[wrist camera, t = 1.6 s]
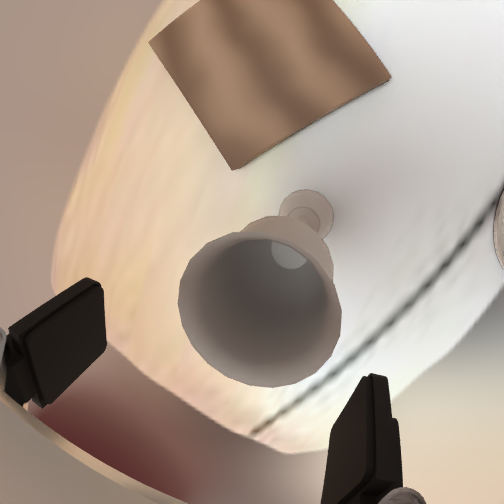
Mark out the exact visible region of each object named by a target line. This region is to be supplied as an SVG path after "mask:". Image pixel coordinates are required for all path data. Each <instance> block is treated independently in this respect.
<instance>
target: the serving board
mask: <svg viewBox="0 0 504 504" xmlns="http://www.w3.org/2000/svg"><path fill="white" fill-rule="evenodd" d="M148 43H149V44H150V46H151V47H152V49H153V50H154V52H155V53H156V55H157V56H158V58H159V59H160V61H161V62H162V64H163V65H164V67H165V68H166V70H167V71H168V73H169V74H170V76H171V77H172V79H173V80H174V82H175V83H176V85H177V86H178V88H179V89H180V91H181V92H182V94H183V95H184V97H185V98H186V100H187V101H188V103H189V104H190V106H191V108H192V109H193V111H194V112H195V114H196V115H197V117H198V118H199V120H200V121H201V123H202V124H203V126H204V128H205V129H206V131H207V132H208V134H209V135H210V137H211V138H212V140H213V142H214V143H215V145H216V146H217V148H218V149H219V151H220V152H221V154H222V156H223V157H224V159H225V160H226V162H227V163H228V165H229V167H230V168H231V170H236V169H239V168H241V167H242V166H244V165H245V164H247V163H248V162H250V161H252V160H253V159H255V158H256V157H258V156H259V155H261V154H262V153H264V152H266V151H267V150H269V149H270V148H272V147H274V146H275V145H277V144H278V143H280V142H282V141H283V140H285V139H287V138H288V137H290V136H291V135H293V134H295V133H296V132H298V131H300V130H301V129H303V128H305V127H306V126H308V125H310V124H312V123H313V122H315V121H317V120H318V119H320V118H322V117H324V116H325V115H327V114H329V113H330V112H332V111H334V110H336V109H338V108H339V107H341V106H343V105H345V104H346V103H348V102H350V101H352V100H354V99H356V98H357V97H359V96H361V95H363V94H365V93H367V92H368V91H370V90H372V89H374V88H376V87H378V86H380V85H382V84H384V83H386V82H388V81H389V79H390V78H391V75H390V74H389V72H388V71H387V69H386V68H385V66H384V65H383V63H382V62H381V60H380V59H379V58H378V56H377V55H376V53H375V52H374V51H373V49H372V48H371V47H370V45H369V44H368V43H367V41H366V40H365V39H364V37H363V36H362V35H361V34H360V32H359V31H358V30H357V28H356V27H355V26H354V25H353V24H352V22H351V21H350V20H349V19H348V17H347V16H346V15H345V14H344V13H343V12H342V10H341V9H340V8H339V7H338V6H337V5H336V3H335V2H334V1H333V0H200V1H199V2H197V3H196V4H195V5H193V6H192V7H191V8H189V9H188V10H187V11H185V12H184V13H183V14H182V15H180V16H179V17H178V18H176V19H175V20H174V21H173V22H172V23H170V24H169V25H168V26H167V27H165V28H164V29H163V30H162V31H161V32H159V33H158V34H157V35H156V36H155V37H154V38H153V39H151V40H150V41H149V42H148Z"/></svg>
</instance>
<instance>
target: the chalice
mask: <svg viewBox="0 0 504 504" xmlns="http://www.w3.org/2000/svg"><path fill="white" fill-rule="evenodd" d="M332 224H333V211H332V208H331V206H330V204H329V202H328V201H327V200H326V198H325V197H323V196H322V195H321V194H319V193H318V192H315V191H311V190H299V191H296V192H293V193H291V194H290V195H289V196H288V197H286V198H285V200H284V201H283V203H282V204H281V207H280V211H279V216H268V217H264V218H261V219H259V220H256V221H254V222H252V223H250V224H248V225H247V226H246V227H245V228H244V229H243V230H242V231H241V232H233V233H230V234H228V235H225V236H223V237H221V238H218V239H216V240H213V241H211V242H208V243H207V244H206V245H205V246H204V247H203V248H202V249H201V250H200V251H199V252H198V253H197V254H196V255H195V256H194V257H193V258H192V259H190V261H189V263H188V265H187V267H186V270H185V272H184V274H183V276H182V278H181V280H180V287H179V297H178V307H179V312H180V317H181V322H182V326H183V328H184V330H185V332H186V334H187V336H188V338H189V340H190V342H191V344H192V346H193V347H194V349H195V350H196V351H197V352H198V353H199V354H200V355H201V357H202V358H203V359H204V360H205V361H206V362H207V363H208V364H209V365H210V366H212V367H213V368H215V369H216V370H218V371H219V372H220V373H222V374H223V375H225V376H226V377H228V378H231V379H233V380H236V381H239V382H241V383H244V384H247V385H250V386H260V387H270V388H274V387H280V386H285V385H291V384H295V383H297V382H299V381H301V380H303V379H305V378H307V377H309V376H311V375H313V374H314V373H316V372H317V371H318V370H319V369H320V368H321V367H322V365H323V364H324V363H325V362H326V361H327V360H328V359H329V358H330V357H331V355H332V353H333V350H334V348H335V346H336V344H337V341H338V339H339V337H340V329H341V314H342V310H341V306H340V303H339V299H338V296H337V292H336V289H335V285H334V283H333V262H332V259H331V255H330V252H329V249H328V247H327V246H326V244H325V243H324V241H323V240H322V239H323V238H324V237H326V235H327V234H328V233H329V231H330V230H331V227H332Z"/></svg>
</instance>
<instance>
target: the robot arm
mask: <svg viewBox="0 0 504 504" xmlns="http://www.w3.org/2000/svg"><path fill="white" fill-rule="evenodd" d="M494 243H495V249H496V253H497V257H498V259H499V261H500V264H501V266H502V267H503V269H504V251H503V250H504V191H503V193H502V195H501V197H500V200H499V204H498V207H497V210H496V215H495V221H494ZM8 329H9V334H8V335H7V336H6V333H5V331H4V330H3V329H2V328H0V504H188V503H186V502H183V501H181V500H178V499H176V498H173V497H171V496H168V495H166V494H164V493H162V492H159V491H157V490H155V489H153V488H151V487H149V486H146V485H144V484H142V483H140V482H138V481H136V480H134V479H132V478H130V477H128V476H126V475H124V474H122V473H121V472H119V471H117V470H115V469H113V468H111V467H110V466H108V465H106V464H104V463H103V462H101V461H99V460H97V459H96V458H94V457H93V456H91V455H89V454H88V453H86V452H84V451H83V450H81V449H80V448H78V447H77V446H75V445H74V444H72V443H71V442H69V441H68V440H66V439H65V438H63V437H62V436H60V435H59V434H57V433H56V432H54V431H53V430H52V429H50V428H49V427H48V426H46V425H45V424H43V423H42V422H41V421H40V420H38V419H37V418H36V417H34V416H33V415H32V414H31V413H29V412H28V401H29V400H30V399H31V398H32V401H33V402H35V403H36V404H37V405H38V406H40V407H41V408H44V407H45V406H46V405H47V404H51V403H52V402H54V401H55V399H57V397H59V396H60V394H62V393H63V392H64V391H65V390H66V389H67V388H68V387H69V386H70V385H71V384H72V383H73V382H74V381H75V380H76V379H77V378H78V377H79V376H80V375H81V374H82V373H83V372H84V371H85V370H86V369H87V368H88V367H89V366H90V365H91V364H92V363H93V362H94V361H95V360H96V359H97V358H98V357H99V356H100V355H101V354H102V353H103V352H104V351H105V349H106V346H107V340H106V327H105V310H104V290H103V288H101V284H100V283H99V282H97V281H95V280H92V279H90V278H87V277H86V278H83V279H82V280H80V281H79V282H77V283H75V284H74V285H72V286H71V287H69V288H68V289H66V290H64V291H63V292H61V293H60V294H58V295H57V296H55V297H54V298H52V299H51V300H49V301H47V302H46V303H44V304H43V305H41V306H40V307H38V308H37V309H35V310H34V311H32V312H31V313H29V314H28V315H26V316H25V317H23V318H22V319H21V320H19V321H18V322H16V323H15V324H13V325H12V326H10V327H9V328H8ZM399 436H400V435H399V425H398V421H397V419H396V418H392V413H391V403H390V394H389V385H388V379H387V377H386V376H381V375H377V374H373V373H370V374H369V375H368V377H366V376H363V377H362V378H361V380H360V382H359V384H358V385H357V387H356V389H355V391H354V392H353V394H352V396H351V397H350V399H349V401H348V402H347V404H346V406H345V407H344V409H343V411H342V412H341V414H340V415H339V417H338V419H337V420H336V422H335V423H334V425H333V427H332V429H331V433H330V440H329V449H328V457H327V465H326V472H325V479H324V486H323V492H322V498H321V504H426V502H425V500H424V498H423V497H422V496H421V494H420V493H419V492H417V491H415V490H414V489H411V488H407V487H403V478H402V461H401V446H400V437H399Z"/></svg>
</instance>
